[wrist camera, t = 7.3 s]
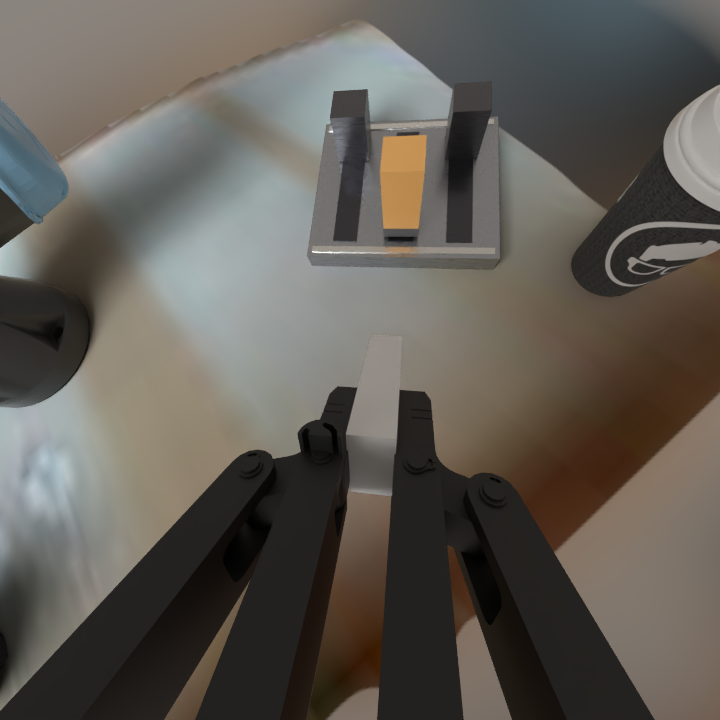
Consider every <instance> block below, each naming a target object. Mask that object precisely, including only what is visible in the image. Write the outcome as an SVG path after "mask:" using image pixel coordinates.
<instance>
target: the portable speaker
mask: <svg viewBox="0 0 720 720" xmlns="http://www.w3.org/2000/svg"><path fill="white" fill-rule="evenodd" d="M7 656H8V654H7V650H6V647H5V643H4V639H3V637H2V636H1V634H0V668H1V666H2V664H3V663H4V661H5V659H6V658H7Z"/></svg>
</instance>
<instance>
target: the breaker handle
mask: <svg viewBox="0 0 720 720" xmlns="http://www.w3.org/2000/svg"><path fill="white" fill-rule="evenodd" d="M426 139H427V135H413V136H388V137H383V145H382V156H381V166H380V181H381V196H382V212H383V236H384V237H418V233H419V219H420V210H421V201H422V192H423V183H424V174H425V158H426Z"/></svg>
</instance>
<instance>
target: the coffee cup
mask: <svg viewBox="0 0 720 720" xmlns="http://www.w3.org/2000/svg"><path fill="white" fill-rule="evenodd" d="M719 249H720V85H718V86H716V87H714V88H713V89H711V90H709V91H707V92H706V93H705V94H703V95H701V96H700V97H698V98H697V99H695V100H694V101H693V102H691V103H690V104H689V105H688V106H686V107H685V108H684V109H683V110H681V112H679V113H678V114H677V116H675V118H674V119H673V120H672V122H671V123H670V125H669V127H668V129H667V131H666V134H665V138H664V143H663V144H662V146H661V147H660V148H659V149H658V151H657V152H656V153H655V154H654V156H653V157H652V158H651V159H650V161H649V162H648V163H647V164H646V166H645V167H644V168H643V169H642V171H641V172H640V173H639V174H638V176H637V177H636V178H635V179H634V181H633V182H632V183H631V184H630V185H629V187H628V188H627V189H626V190H625V192H624V193H623V194H622V195H621V196H620V198H619V199H618V200H617V201H616V203H615V204H614V205H613V206H612V208H611V209H610V210H609V211H608V212H607V214H606V215H605V216H604V217H603V219H602V220H601V221H600V222H599V224H598V225H597V226H596V227H595V228H594V230H593V231H592V232H591V233H590V235H589V236H588V237H587V238H586V240H585V241H584V242H583V243H582V244H581V246H580V247H579V248H578V249H577V251H576V252H575V254H574V256H573V258H572V272H573V274H574V277H575V278H576V280H577V281H578V283H579V284H580V285H581V286H582V287H584V288H585V289H586V290H588V291H590V292H592V293H594V294H597V295H601V296H608V297H613V296H620V295H623V294H626V293H628V292H630V291H632V290H634V289H637V288H639V287H641V286H643V285H645V284H647V283H649V282H651V281H654V280H656V279H658V278H660V277H662V276H664V275H666V274H668V273H670V272H673V271H675V270H677V269H679V268H681V267H683V266H685V265H687V264H690V263H692V262H694V261H696V260H698V259H700V258H702V257H704V256H707V255H709V254H711V253H713V252H715V251H717V250H719Z"/></svg>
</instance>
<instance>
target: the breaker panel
mask: <svg viewBox="0 0 720 720" xmlns="http://www.w3.org/2000/svg"><path fill="white" fill-rule="evenodd" d="M491 84H492V83H491V82H478V83H460V84H454V86H453V92H452V98H451V104H450V110H449V116H448V119H434V120H413V121H392V122H370V113H369V101H368V89H365V90H349V91H334V94H333V101H332V108H331V115H330V121H331V124H328V125H326V131H325V138H324V145H323V152H322V159H321V165H320V172H319V179H318V186H317V192H316V199H315V206H314V213H313V220H312V226H311V233H310V240H309V247H308V253H307V256H308V258H309V260H310V262H311V264H312V266H355V267H404V268H454V269H494V268H495V266H496V265H497V263H498V261H499V260H500V218H499V140H498V117H490V114H491V111H492V88H491V87H492V85H491ZM413 135H427V139H426V158H425V174H424V183H423V192H422V201H421V210H420V219H419V233H418V237H384V236H383V212H382V196H381V181H380V166H381V156H382V145H383V137H388V136H413Z"/></svg>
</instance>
